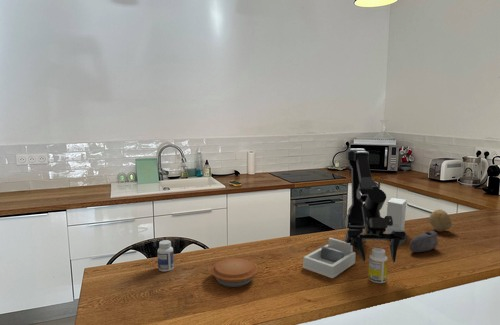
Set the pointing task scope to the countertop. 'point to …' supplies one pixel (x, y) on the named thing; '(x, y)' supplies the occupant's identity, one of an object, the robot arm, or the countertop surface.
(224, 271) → the pie
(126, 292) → the countertop surface
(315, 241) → the countertop surface
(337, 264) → the pusher lane
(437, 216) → the natural sponge
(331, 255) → the pusher plate
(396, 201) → the skincare box
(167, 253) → the pill bottle
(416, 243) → the perforated stone tool
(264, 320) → the countertop surface
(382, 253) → the supplement bottle
